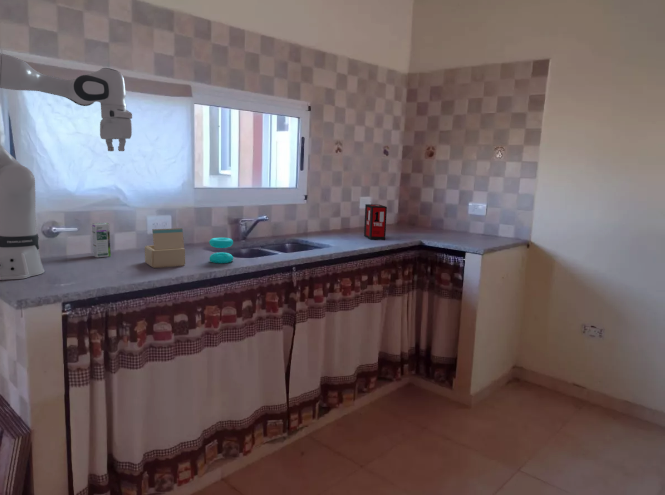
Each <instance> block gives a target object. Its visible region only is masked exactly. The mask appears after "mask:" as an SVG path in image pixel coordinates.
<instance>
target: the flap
mask: <svg viewBox="0 0 665 495" xmlns="http://www.w3.org/2000/svg"><path fill="white" fill-rule="evenodd" d="M152 240H153V245H154V250H159V249H174V248H184V249H185V241H184V230H183V227H181V228H180V227H179V228H177V227H176V228H156V229H154V228H153V229H152Z"/></svg>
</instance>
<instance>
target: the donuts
mask: <svg viewBox="0 0 665 495" xmlns="http://www.w3.org/2000/svg"><path fill="white" fill-rule="evenodd" d="M208 243H209V245H210V246H211V247H212V248H216V249H226V248H230V247H232V246H233V245H234V240H233V239H232V238H229V237H213V238H211V239H210V240H209V241H208ZM233 260H234V256H233V255H232V254H231V253H229V252H222V251H221V252H220V251H219V252H214V253H212V254H211V255H209V261H210V262H211V263H213V264H229V263H231V262H233Z"/></svg>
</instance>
